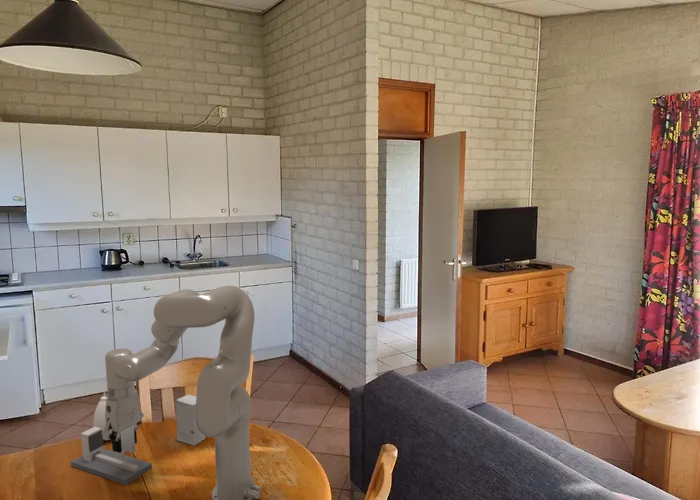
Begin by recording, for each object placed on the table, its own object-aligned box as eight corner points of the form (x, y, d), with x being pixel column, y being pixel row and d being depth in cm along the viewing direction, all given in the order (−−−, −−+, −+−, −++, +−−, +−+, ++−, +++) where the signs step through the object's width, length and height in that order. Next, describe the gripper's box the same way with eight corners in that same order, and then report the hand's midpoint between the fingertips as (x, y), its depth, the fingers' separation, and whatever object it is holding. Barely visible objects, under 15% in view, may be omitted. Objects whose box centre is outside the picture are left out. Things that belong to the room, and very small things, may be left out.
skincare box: (176, 440, 181) (174, 399, 179) (189, 433, 186) (187, 393, 184) (195, 446, 177) (192, 404, 175) (207, 438, 182) (205, 397, 180)
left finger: (135, 451, 162) (133, 424, 161) (122, 458, 158) (120, 431, 157) (127, 448, 164) (125, 422, 163) (113, 456, 160) (111, 429, 158)
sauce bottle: (111, 445, 178) (107, 395, 175) (90, 443, 179) (86, 393, 177) (124, 434, 186) (121, 385, 183) (104, 432, 187) (100, 384, 184)
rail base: (151, 467, 164) (149, 436, 163) (125, 484, 155) (123, 452, 154) (98, 451, 174) (96, 421, 173) (71, 466, 165) (68, 435, 164)
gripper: (105, 403, 149) (110, 463, 151) (152, 382, 164) (155, 437, 167) (87, 399, 152) (92, 457, 155) (134, 378, 167) (138, 432, 170)
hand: (125, 446), depth 161 cm, fingers open, 5 cm apart
